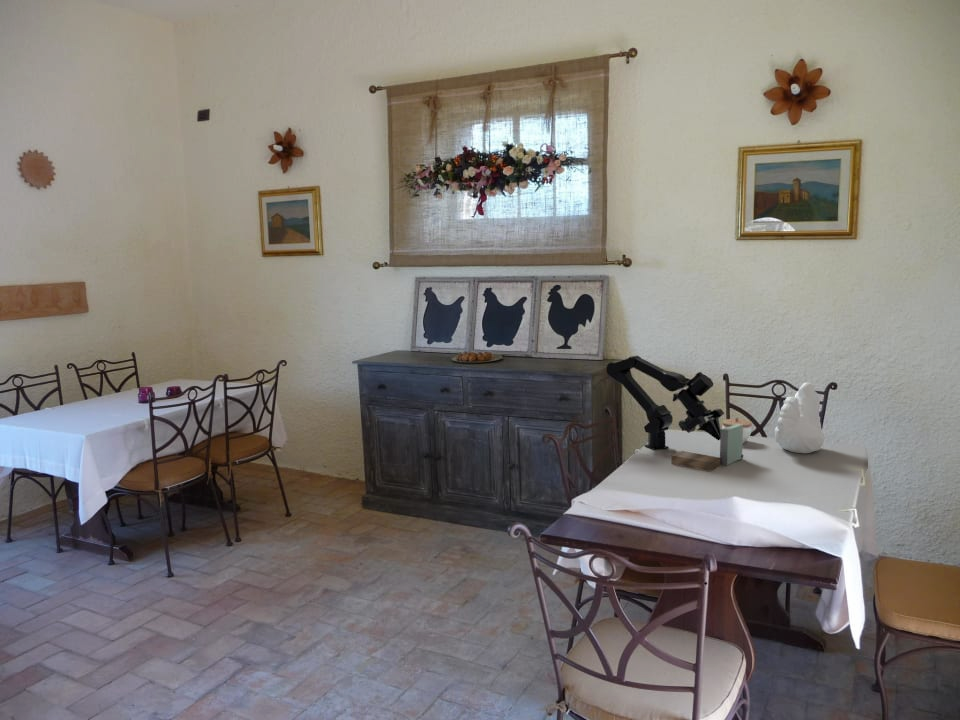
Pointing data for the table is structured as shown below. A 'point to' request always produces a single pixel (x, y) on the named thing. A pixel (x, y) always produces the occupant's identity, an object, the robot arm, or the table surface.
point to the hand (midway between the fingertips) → (720, 439)
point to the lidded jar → (745, 423)
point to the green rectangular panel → (731, 444)
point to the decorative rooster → (800, 422)
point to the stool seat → (695, 460)
